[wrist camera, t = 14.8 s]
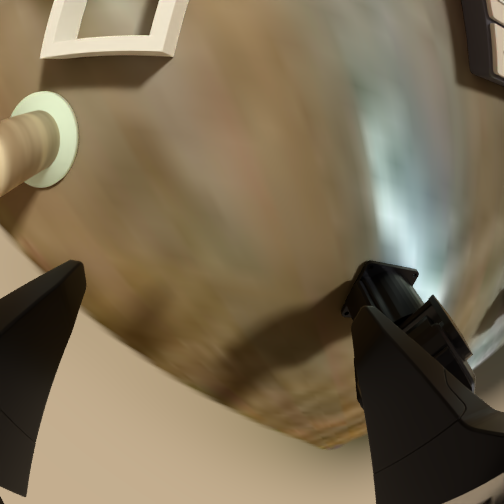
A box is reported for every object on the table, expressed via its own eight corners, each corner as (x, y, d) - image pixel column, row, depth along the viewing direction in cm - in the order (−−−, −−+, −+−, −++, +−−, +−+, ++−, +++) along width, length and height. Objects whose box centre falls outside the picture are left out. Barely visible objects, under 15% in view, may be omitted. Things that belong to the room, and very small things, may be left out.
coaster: (83, 88, 15) (79, 89, 14) (78, 189, 19) (74, 192, 18) (12, 95, 14) (7, 95, 13) (11, 182, 18) (8, 184, 17)
